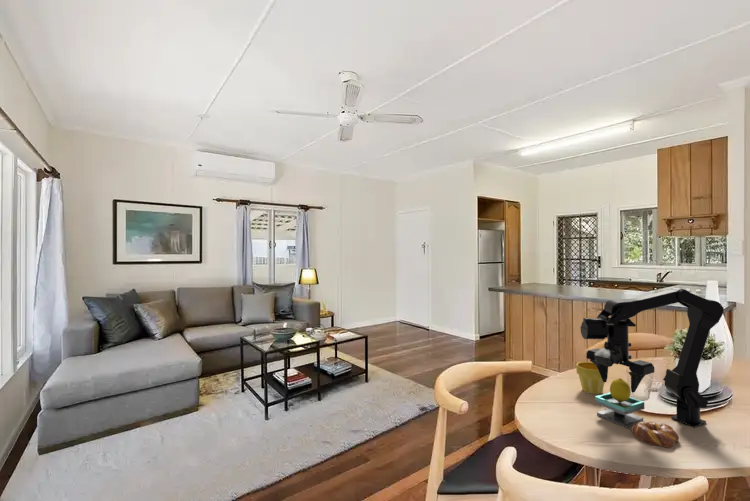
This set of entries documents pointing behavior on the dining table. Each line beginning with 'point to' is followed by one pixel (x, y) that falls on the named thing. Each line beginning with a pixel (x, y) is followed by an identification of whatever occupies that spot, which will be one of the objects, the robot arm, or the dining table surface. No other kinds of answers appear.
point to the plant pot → (590, 377)
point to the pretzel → (655, 433)
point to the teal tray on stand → (619, 410)
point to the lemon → (620, 390)
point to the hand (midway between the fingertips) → (618, 386)
